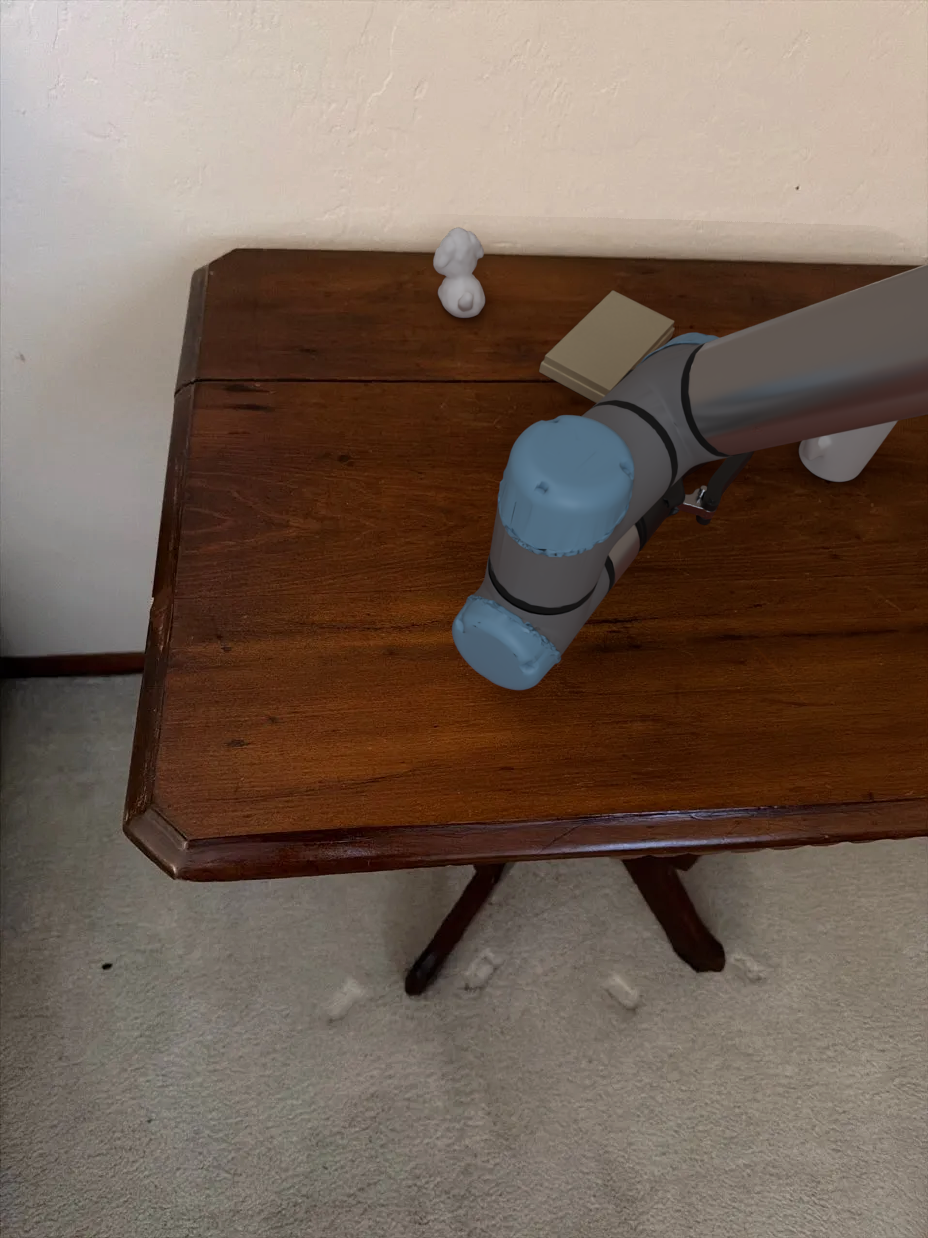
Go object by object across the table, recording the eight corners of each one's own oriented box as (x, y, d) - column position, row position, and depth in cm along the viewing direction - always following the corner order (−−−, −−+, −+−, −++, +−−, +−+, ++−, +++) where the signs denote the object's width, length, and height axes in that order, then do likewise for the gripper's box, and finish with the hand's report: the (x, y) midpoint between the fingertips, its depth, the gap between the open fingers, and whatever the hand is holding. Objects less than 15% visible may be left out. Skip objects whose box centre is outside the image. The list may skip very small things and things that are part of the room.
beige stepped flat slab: (671, 337, 94) (677, 320, 92) (606, 408, 87) (611, 392, 85) (607, 304, 96) (612, 288, 94) (538, 371, 89) (542, 355, 87)
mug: (828, 424, 89) (886, 327, 79) (878, 468, 86) (945, 373, 76) (757, 461, 85) (808, 363, 75) (807, 507, 82) (867, 413, 72)
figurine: (464, 278, 96) (471, 210, 90) (499, 322, 93) (509, 255, 86) (420, 289, 95) (424, 221, 88) (454, 335, 91) (461, 267, 84)
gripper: (496, 498, 73) (630, 354, 85) (689, 612, 69) (803, 444, 80) (507, 434, 67) (650, 288, 78) (721, 554, 63) (840, 380, 74)
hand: (727, 367), depth 79 cm, fingers closed on pill bottle, 5 cm apart
